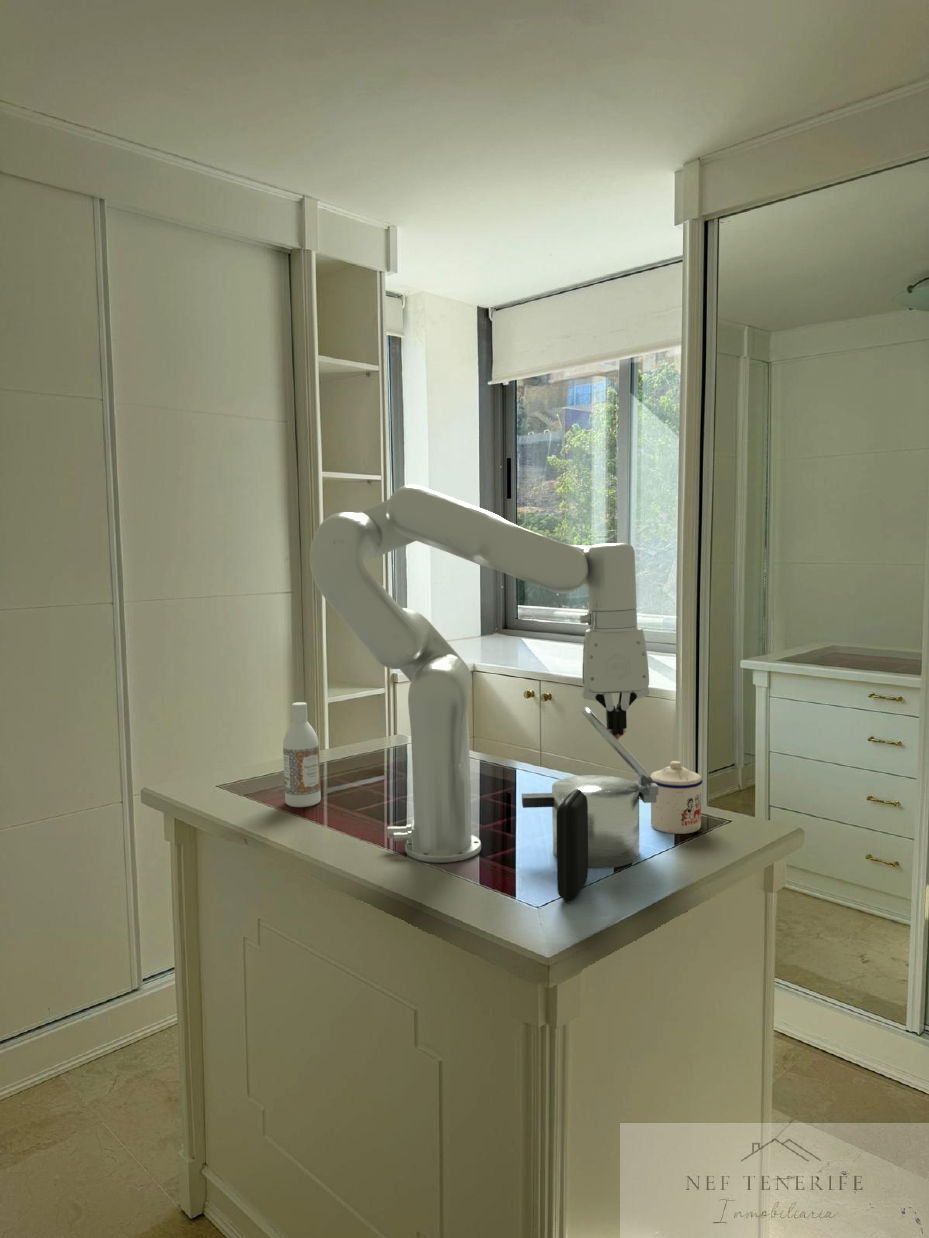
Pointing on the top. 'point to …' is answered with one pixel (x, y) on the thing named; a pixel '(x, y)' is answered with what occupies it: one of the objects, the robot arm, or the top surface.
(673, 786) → the teacup with lid
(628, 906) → the top surface
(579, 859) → the carrying case or bag
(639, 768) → the lid
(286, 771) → the bath foam
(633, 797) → the cooker pot
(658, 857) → the top surface
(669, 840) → the top surface
